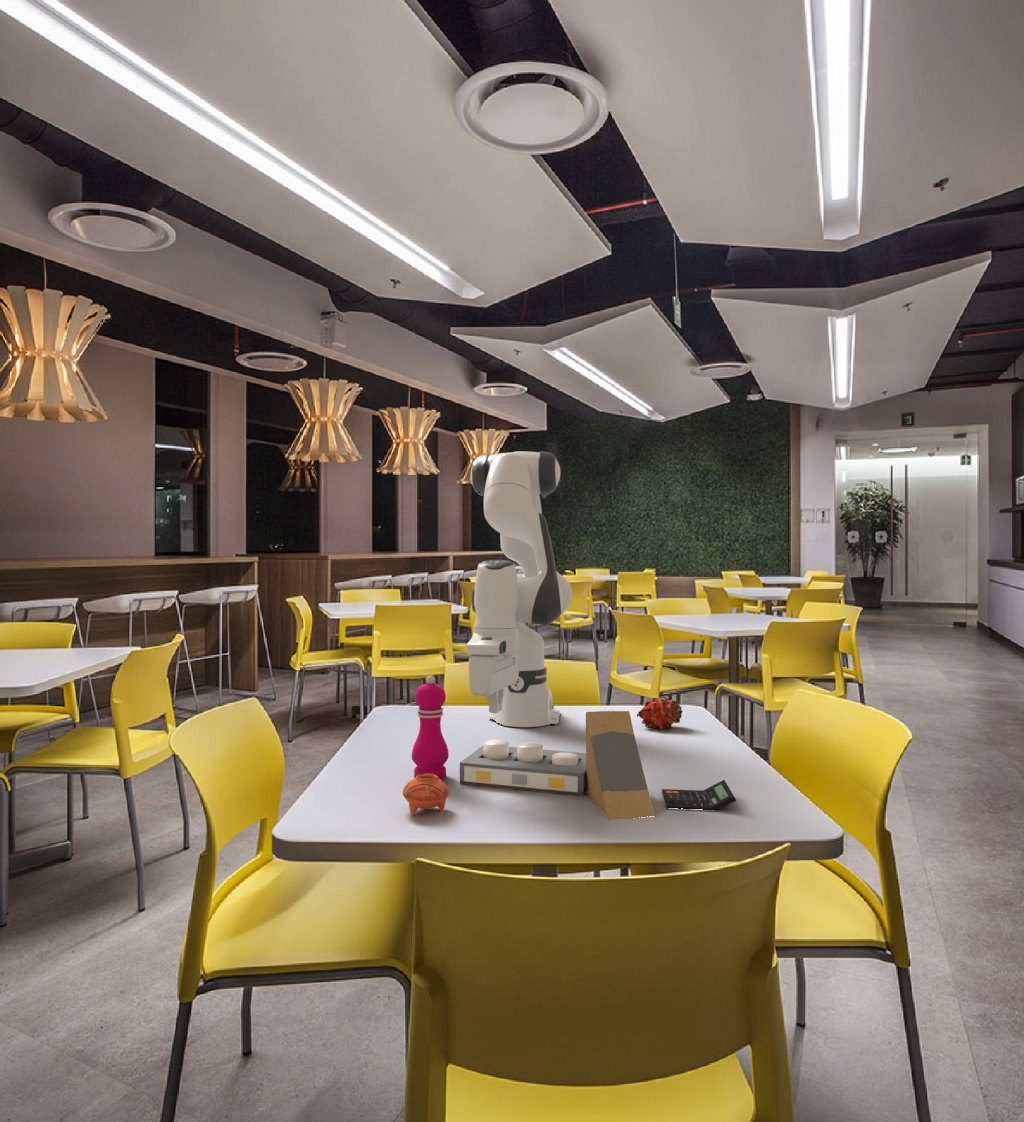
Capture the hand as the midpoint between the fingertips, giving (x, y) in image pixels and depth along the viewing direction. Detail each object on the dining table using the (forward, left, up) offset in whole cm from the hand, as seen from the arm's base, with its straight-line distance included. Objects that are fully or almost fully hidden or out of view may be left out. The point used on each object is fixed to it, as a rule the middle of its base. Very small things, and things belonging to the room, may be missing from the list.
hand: (495, 711), depth 144 cm
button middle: (0, +7, -10) cm, 13 cm away
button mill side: (0, 0, -10) cm, 10 cm away
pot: (+23, -5, -13) cm, 27 cm away
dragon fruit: (-51, +27, -13) cm, 59 cm away
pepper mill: (+5, -12, -13) cm, 18 cm away
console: (0, +7, -13) cm, 15 cm away
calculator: (+4, +39, -13) cm, 41 cm away
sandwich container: (+9, +26, -13) cm, 30 cm away
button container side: (0, +14, -12) cm, 18 cm away
